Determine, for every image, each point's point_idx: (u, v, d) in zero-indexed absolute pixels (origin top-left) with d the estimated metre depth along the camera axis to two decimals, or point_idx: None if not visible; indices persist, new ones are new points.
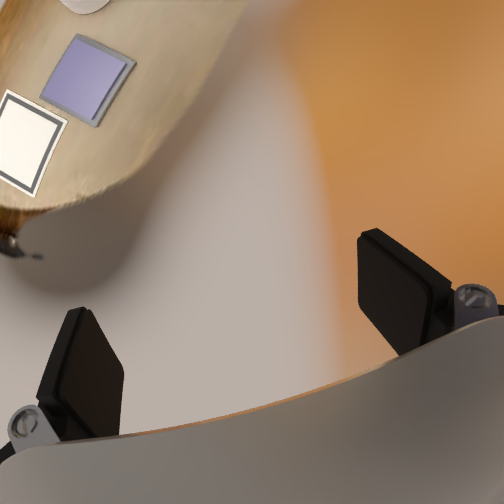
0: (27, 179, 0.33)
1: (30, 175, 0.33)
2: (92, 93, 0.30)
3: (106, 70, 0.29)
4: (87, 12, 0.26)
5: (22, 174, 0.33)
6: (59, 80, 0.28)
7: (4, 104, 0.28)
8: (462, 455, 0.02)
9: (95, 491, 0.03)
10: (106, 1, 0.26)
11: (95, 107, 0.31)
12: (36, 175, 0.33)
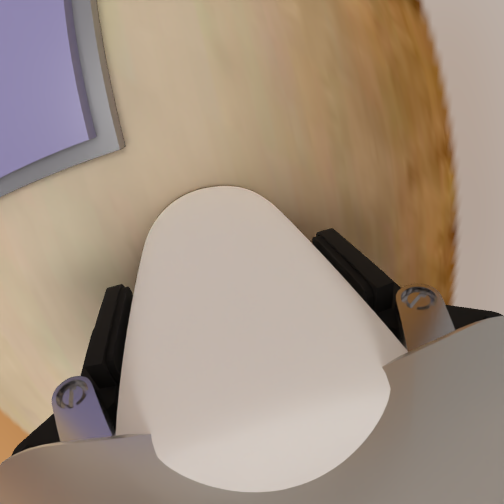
0: None
1: None
2: None
3: None
4: (158, 219, 0.12)
5: None
6: (31, 15, 0.06)
7: None
8: (462, 455, 0.02)
9: (95, 491, 0.03)
10: None
11: None
12: None
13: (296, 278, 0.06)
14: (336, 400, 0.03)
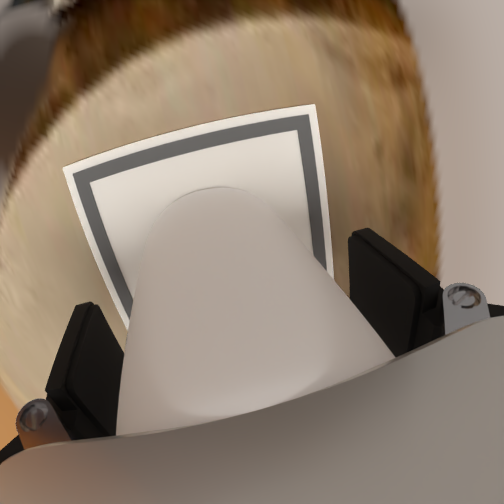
0: (114, 193, 0.12)
1: (115, 210, 0.13)
2: None
3: None
4: (159, 218, 0.12)
5: (139, 192, 0.13)
6: None
7: None
8: (462, 455, 0.02)
9: (95, 491, 0.03)
10: None
11: None
12: (100, 225, 0.13)
13: (281, 272, 0.07)
14: (305, 375, 0.04)
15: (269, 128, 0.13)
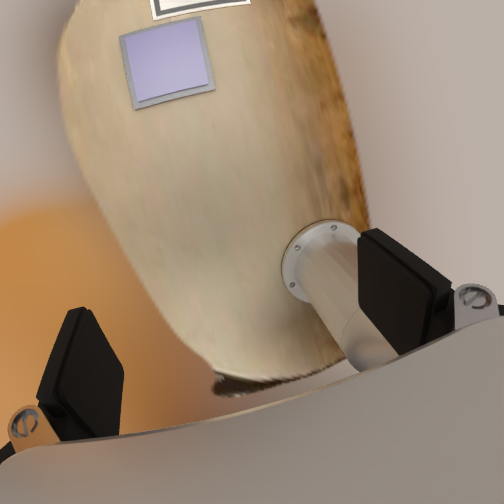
0: None
1: None
2: (143, 56, 0.27)
3: (148, 82, 0.29)
4: None
5: None
6: (187, 41, 0.28)
7: None
8: (462, 455, 0.02)
9: (95, 491, 0.03)
10: None
11: (129, 49, 0.27)
12: None
13: None
14: None
15: None
